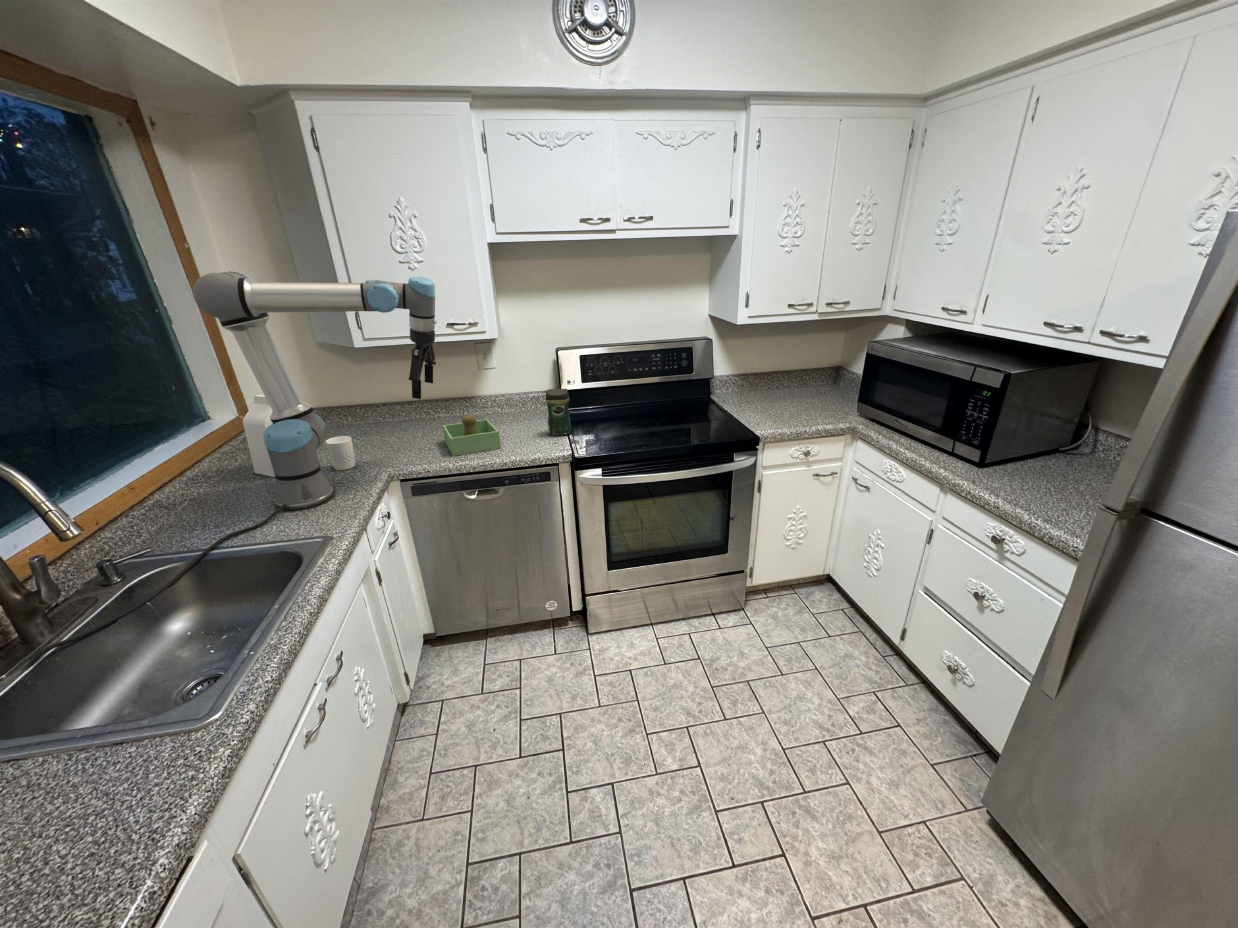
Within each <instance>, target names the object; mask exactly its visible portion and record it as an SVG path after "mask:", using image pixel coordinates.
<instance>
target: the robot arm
mask: <svg viewBox="0 0 1238 928" xmlns="http://www.w3.org/2000/svg"><path fill="white" fill-rule="evenodd" d="M192 295H193V299H194V301H195V304H196V305H197V306H198V308H200V309H201V311H203V312H204V313H205V314H207V315H209V316H211V317H213V318H215V319H217V320H218V322H219V323H220V325H221V327H222V328H223V329H225V330H226V331H229V332H230V333H232V335H233V336H234V338H235V341H236V342H237V344H238V346H239V348H240V350H241V352H242V354H243V356H244V358H245V360H246V362H247V364H248V366H249V368H250V370H251V372H252V374H253V376H254V377H255V380H256V382H257V384H258V385H259V387H260V390H261V391H262V393H263V395H265V397H266V399H267V401H268V403H269V405H270V407H271V409H272V414H271V416H270V420H271V422H272V423H273V424H271V425H270V426H268V427H267V428H266V429H265V431H264V434H263V435H264V443H265V445H266V447H267V451H268V454H269V457H270V461H271V464H272V468H273V471H274V474H275V477H274V478H275V491H274V493H275V494H274V499H273V500H274V504H275V507H276V508H277V509H276V510H274V511H272V512H271V514H270V515H268V516H267V517H266V518H265V519H263V520H262V521H260V522H258V523H256V524H254V525H251V526H249V527H245V528H242V529H239V530H236V531H233V532H231V533H229V534H227V535H225V536H223V537H221V538H219V539H218V540H216V541H215V542H213V543H212V544H211V545H210V546H208V547H207V548H206V549H204V550H203V551H202V552H201V553H199V554H198V555H197V556H196V557H195V558H194V559H193V560H192V561H190V563H188V564H187V565H186V566H185V567H184V568H183V569H182V570H180V571H179V572H178V573H177V574H176V575H175V576H174V577H173V578H171V580H168V582H167V583H166V584H164V585H163V586H162V587H160V588H159V589H158V590H156V591H155V592H153V593H152V594H151V595H149V596H148V597H146V598H145V599H143V600H142V601H140V602H138V603H137V604H135V605H134V606H132V607H130V608H129V609H127V610H125V611H123V612H122V613H120V614H118V615H115V616H114V617H112V618H110V619H108V620H106V621H105V622H103V623H102V622H101V623H100V624H98V625H96V626H94V627H92V628H90V629H89V630H86V631H83V632H82V633H80V634H78V635H74V636H71V637H70V638H66V639H64V640H61V641H58V642H55V643H52V644H50V645H48V646H46V647H44V648H42V649H40V650H39V651H38V652H37V653H35V654H34V655H33V656H32V657H31V658H30V660H29V661H28V662H27V664H26V666H25V668H31V667H33V666H34V665H35V663H36V662H37V661H38V660H39V659H40V657H42V656H43V655H44V654H46V653H47V652H49V651H52V650H54V649H57V648H59V647H62V646H65V645H67V644H70V643H74V642H76V641H78V640H80V639H83V638H86V637H87V636H89V635H91V634H94V633H95V632H97V631H99V630H101V629H103V628H105V627H107V626H109V625H112V624H113V623H116V622H117V621H119V620H121V619H122V618H125V617H126V616H128V615H131V614H132V613H133V612H135V611H136V610H138V609H140V608H142V607H143V606H145V605H147V604H149V602H150V601H152V600H154V599H155V598H157V597H158V596H159V595H160V594H162V593H163V592H165V591H166V590H167V589H168V588H170V587H171V586H172V585H174V583H176V581H178V580H179V579H180V578H181V577H183V576H184V574H186V573H187V572H188V571H189V570H190V569H191V568H193V566H194V565H195V564H196V563H197V562H198V561H200V560H201V559H202V558H203V557H204V556H206V555H207V554H208V553H210V551H212V550H213V549H214V548H216V547H217V546H218V545H219V544H221V543H223V542H224V541H225V540H228V539H230V538H232V537H234V536H237V535H239V534H243V533H246V532H248V531H252V530H254V529H257V528H259V527H261V526H263V525H265V524H266V523H267V522H269V521H270V520H271V519H273V517H275V516H276V515H277V514H278V513H280V512H281V511H282V510H283V511H298V510H299V511H300V510H306V509H310V508H313V507H316V506H320V505H322V504H323V503H326V502H327V501H329V500H331V499H332V498H333V497H334V496H335V491H334V487H333V485H332V484H331V483H330V482H329V480H328V479H327V477H326V476H325V474H324V473H323V471H322V468H321V464H320V459H319V456H318V455H319V454H318V452H317V451H318V449H319V448H320V446H321V444H322V443H323V441H324V440H325V437H326V425H325V422H324V421H323V419H322V418H321V417H320V416H319V415H318V414H316V412H315V410H314V408H313V407H312V405H311V404H310V403H307V402H305V401H304V400H303V398H302V396H301V394H300V392H299V390H298V387H297V385H296V383H295V381H294V379H293V377H292V375H291V373H290V370H289V368H288V367H287V365H286V363H285V361H284V358H283V356H282V354H281V352H280V350H279V348H278V346H277V343H276V341H275V340H274V338H273V336H272V333H271V331H270V329H269V327H268V325H267V323H268V321H269V319H270V316H269V313H331V312H332V313H334V312H335V313H339V312H340V313H341V312H344V313H345V312H348V313H349V312H378V313H381V314H382V313H391V312H393V311H394V310H395V309H400V310H409V313H408V314H409V315H408V317H409V318H408V321H409V322H408V323H409V325H408V326H409V339H410V341H411V342H413V343H414V344H415V346H414V348H412V349H411V359H410V360H411V361H410V368H409V370H410V371H409V377H408V380H409V381H411V398H412V399H417V400H421V399H422V379H421V376H422V372H423V367H424V383H427V384H434V366H436V365H437V362H436V355H435V350H434V343H435V341H436V330H435V327H436V324H437V320H436V318H435V317H436V286H435V282H434V281H433V280H431V279H430V278H428V277H423V276H410V277H409V278H408V282H407V283H402V282H395V281H394V282H393V281H386V280H379V279H367V280H366V281H365V282H303V281H301V282H299V281H298V282H296V281H294V282H293V281H292V282H290V281H288V282H287V281H285V282H284V281H282V282H281V281H272V282H271V281H255V280H254V279H253V278H251V277H249V276H247V275H246V274H244V273H240V272H236V271H231V270H229V271H221V272H220V271H219V272H210V273H209V272H208V273H206V274H203V275H202V276H200V277H199V278H197V280H196V281H195V283H194V284H193V288H192Z"/></svg>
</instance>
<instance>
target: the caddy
mask: <svg viewBox="0 0 1238 928" xmlns="http://www.w3.org/2000/svg"><path fill="white" fill-rule="evenodd" d="M475 425H476V429H477V432H478V434H474V435H467V436H464V424H463V422H457V423H451V424H443V425H442V431H443V439H444V442H445V444H446V446H447V448H448V450H449V452H450V453H451V456H453V457H456V456H463V455H467V454H473V453H474V454H475V453H480V452H481V453H482V452H487V451H491V450H497V449H498V450H499V449H501V440H500V431H499V430H498V428H497V427H495V425H494V424H493V423H492V421H490V420H489V419H488V418H486V419H485V418H484V419H479V420H476V423H475Z"/></svg>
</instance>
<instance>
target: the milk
mask: <svg viewBox="0 0 1238 928" xmlns="http://www.w3.org/2000/svg"><path fill="white" fill-rule="evenodd" d="M271 414H272V409H271V407H270V405H269V403H268V401H267V399H266V397H265V395H264V394H254V395H253V404H252V406H251V407H250V408H249V410H248V411H247V413H246V414H245V415H244V417H243V419H242V424H243V429H244V434H245V437H246V442H247V447H248V450H249V454H250V459H251V463H252V468H253V472H254V474H257V475H263V476H268V477H272V478H275V474H274V471H273V468H272V464H271V461H270V457H269V454H268V451H267V447H266V445H265V443H264V435H263V434H264V431H265V429H266V428H267V427H268V426H270V425H271V424H273V423H272V422H271V420H270V416H271Z"/></svg>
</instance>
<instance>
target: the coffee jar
mask: <svg viewBox="0 0 1238 928" xmlns="http://www.w3.org/2000/svg"><path fill="white" fill-rule="evenodd" d="M544 401H545V404H546V406H547V433H548V435H549V436H551V437H555V436H556V437H557V436H558V437H559V436H561V437H562V436H567V435H570V434H571V433H572V423H571V418H570V410H569V403H570V394H569V390H568V388H549V389H546V391H545V399H544ZM565 433H566V434H565Z"/></svg>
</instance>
